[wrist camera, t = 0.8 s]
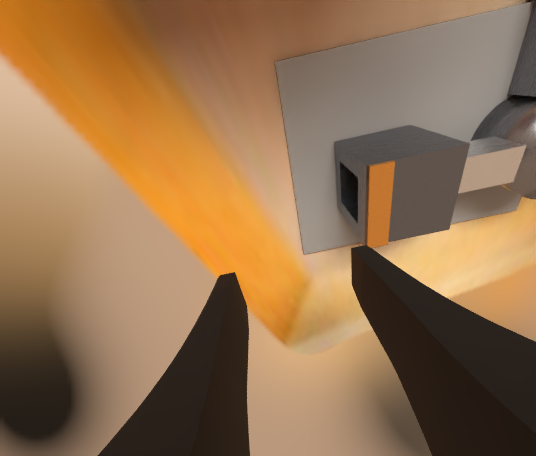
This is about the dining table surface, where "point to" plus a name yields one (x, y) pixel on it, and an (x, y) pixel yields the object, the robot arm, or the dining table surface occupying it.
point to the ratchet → (508, 132)
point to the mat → (395, 106)
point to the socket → (398, 182)
